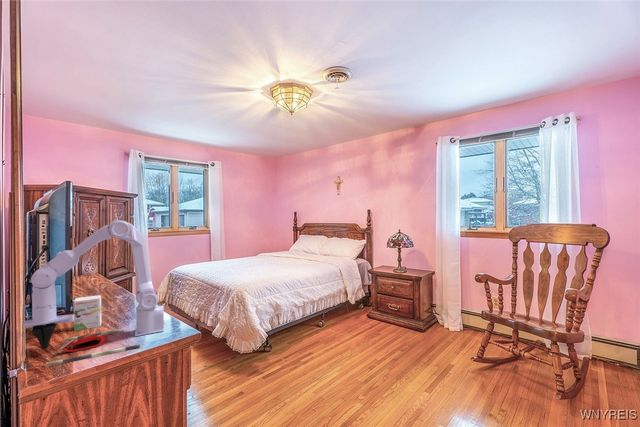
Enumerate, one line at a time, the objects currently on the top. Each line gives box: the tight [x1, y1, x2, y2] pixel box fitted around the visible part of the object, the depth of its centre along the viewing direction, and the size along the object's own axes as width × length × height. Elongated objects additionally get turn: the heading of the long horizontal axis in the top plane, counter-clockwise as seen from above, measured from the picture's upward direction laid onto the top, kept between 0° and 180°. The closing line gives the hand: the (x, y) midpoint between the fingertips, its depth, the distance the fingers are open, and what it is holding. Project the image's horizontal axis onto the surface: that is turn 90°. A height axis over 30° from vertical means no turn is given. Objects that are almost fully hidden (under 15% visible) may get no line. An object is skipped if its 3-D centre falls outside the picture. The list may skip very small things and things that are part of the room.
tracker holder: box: [60, 334, 108, 353], centre depth 102 cm, size 12×4×10 cm
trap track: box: [44, 328, 141, 368], centre depth 104 cm, size 24×21×1 cm
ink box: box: [73, 294, 102, 332], centre depth 120 cm, size 8×5×12 cm, turn 122°
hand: (45, 347), depth 97 cm, fingers closed
